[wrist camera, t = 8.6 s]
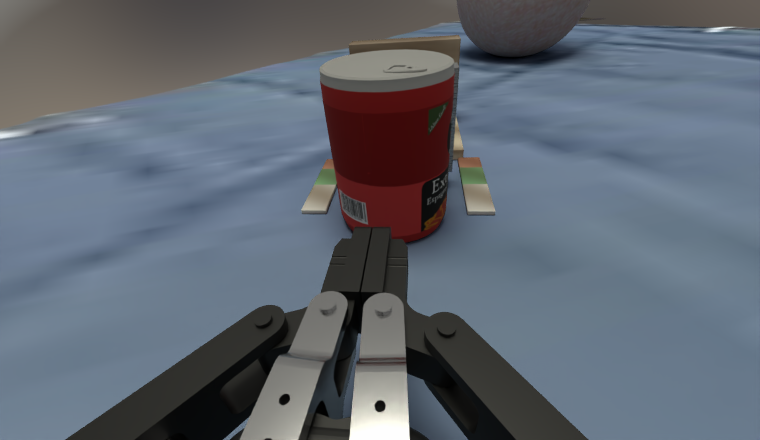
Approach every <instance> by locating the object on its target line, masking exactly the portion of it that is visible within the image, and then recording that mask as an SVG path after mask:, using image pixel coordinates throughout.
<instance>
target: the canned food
mask: <svg viewBox="0 0 760 440" xmlns="http://www.w3.org/2000/svg"><path fill="white" fill-rule="evenodd" d="M454 77H455V70H454V60H453V58H451V57H450V56H448V55H445V54H442V53H439V52H434V51H426V50H406V49H404V50H380V51H370V52H362V53H356V54H351V55H346V56H342V57H339V58H335V59H333V60H330V61H328V62H326V63H325V64H323V65H322V66H321V67H320V84H321V90H322V97H323V104H324V110H325V116H326V122H327V128H328V134H329V140H330V146H331V152H332V158H333V164H334V170H335V176H336V182H337V188H338V193H339V199H340V205H341V211H342V215H343V217H344V219H345V221H346V223H347V224H348V226H349V227H350V229H351V230H352V231H354V227H391V235H392V239H403V240H404V242H405V243H406V242H411V241H415V240H418V239H421V238H423V237H425V236H427V235H429V234H430V233H432V232H433V231H434V230H435V229H436V228H437V227H438V226H439V224H440V223H441V221H442V218H443V216H444V214H445V210H446V200H447V185H448V171H449V156H450V141H451V127H452V112H453V98H454Z"/></svg>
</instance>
